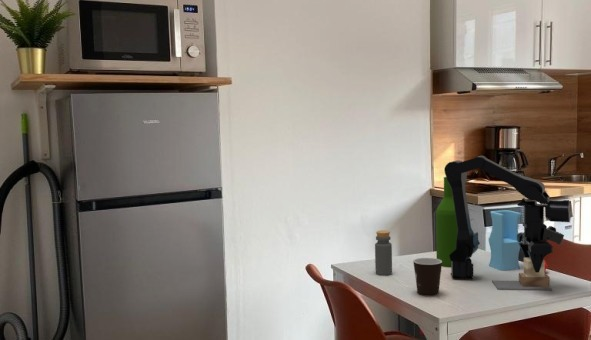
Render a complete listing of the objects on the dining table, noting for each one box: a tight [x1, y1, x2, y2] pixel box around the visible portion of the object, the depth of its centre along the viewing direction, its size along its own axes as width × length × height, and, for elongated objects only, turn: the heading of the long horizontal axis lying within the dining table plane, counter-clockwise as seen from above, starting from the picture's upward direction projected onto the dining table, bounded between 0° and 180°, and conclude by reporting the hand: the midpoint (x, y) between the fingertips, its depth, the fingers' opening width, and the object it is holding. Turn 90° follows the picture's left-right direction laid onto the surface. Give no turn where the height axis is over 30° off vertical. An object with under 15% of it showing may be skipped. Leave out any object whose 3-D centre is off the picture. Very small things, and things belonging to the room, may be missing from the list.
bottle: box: [374, 230, 393, 277], centre depth 195 cm, size 6×6×15 cm
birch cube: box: [523, 257, 546, 277], centre depth 175 cm, size 5×5×5 cm
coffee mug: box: [412, 257, 443, 297], centre depth 172 cm, size 12×9×10 cm
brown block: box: [518, 272, 551, 288], centre depth 175 cm, size 8×5×3 cm, turn 81°
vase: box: [488, 209, 522, 272], centre depth 198 cm, size 8×8×20 cm
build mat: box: [491, 279, 553, 291], centre depth 175 cm, size 16×9×1 cm, turn 81°
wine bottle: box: [435, 176, 458, 268], centre depth 204 cm, size 9×9×32 cm
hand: (533, 269), depth 175 cm, fingers open, 7 cm apart
